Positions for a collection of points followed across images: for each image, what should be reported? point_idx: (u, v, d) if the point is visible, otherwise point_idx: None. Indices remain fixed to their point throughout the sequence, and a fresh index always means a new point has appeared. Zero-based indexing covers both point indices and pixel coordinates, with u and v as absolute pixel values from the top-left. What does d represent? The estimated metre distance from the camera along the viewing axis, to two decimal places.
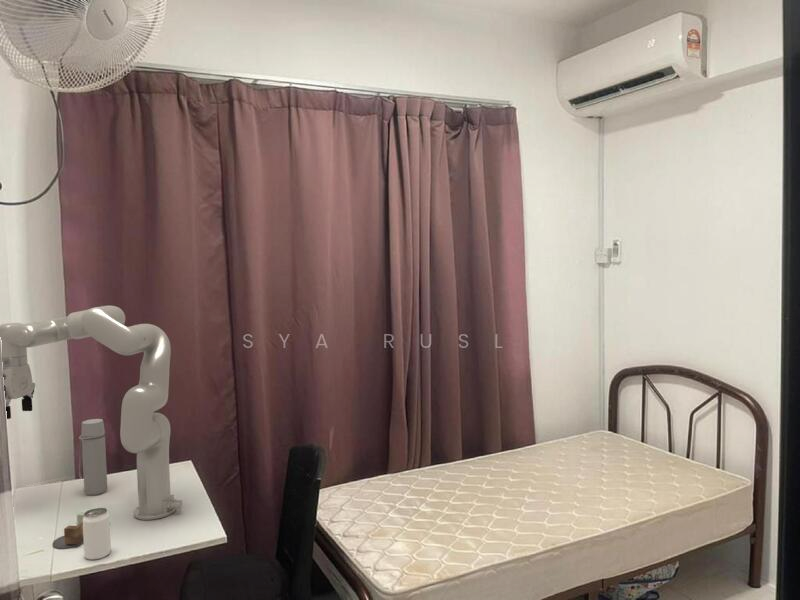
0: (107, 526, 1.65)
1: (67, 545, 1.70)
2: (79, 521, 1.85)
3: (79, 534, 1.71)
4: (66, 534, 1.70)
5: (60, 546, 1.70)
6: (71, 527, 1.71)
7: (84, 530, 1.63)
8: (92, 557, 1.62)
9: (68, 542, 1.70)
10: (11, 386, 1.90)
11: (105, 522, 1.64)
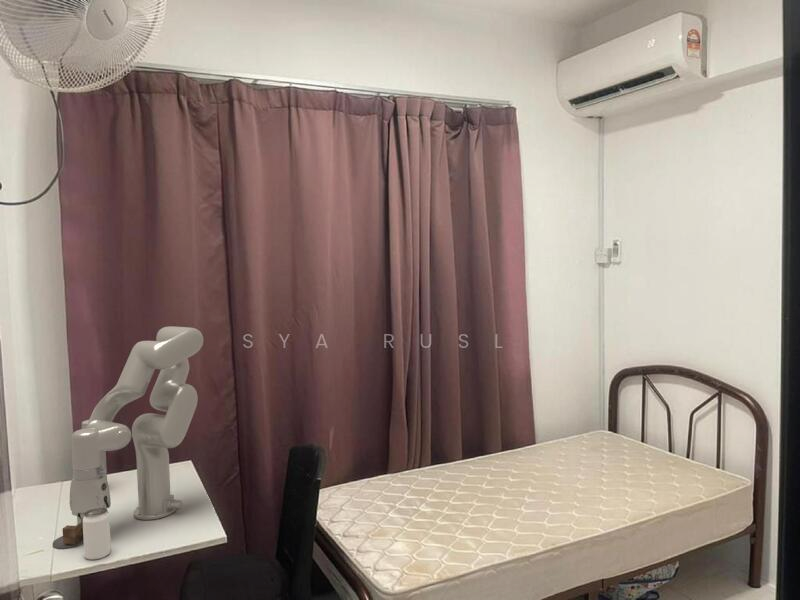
0: (107, 526, 1.65)
1: (67, 545, 1.70)
2: (79, 521, 1.85)
3: (77, 534, 1.71)
4: (64, 534, 1.70)
5: (60, 546, 1.70)
6: (70, 526, 1.71)
7: (84, 530, 1.63)
8: (92, 557, 1.62)
9: (66, 542, 1.70)
10: None
11: (105, 522, 1.64)
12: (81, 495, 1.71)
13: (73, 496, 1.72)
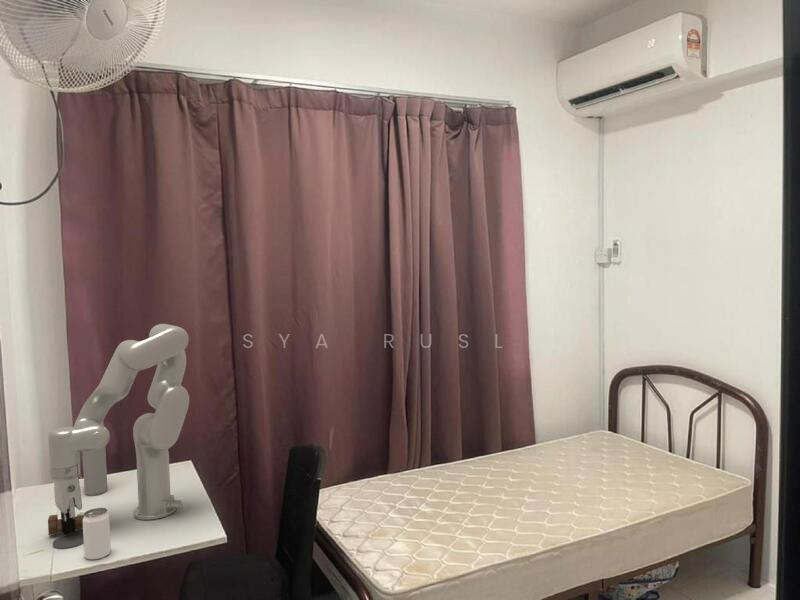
0: (107, 526, 1.65)
1: (67, 545, 1.70)
2: None
3: (53, 526, 1.76)
4: None
5: (60, 546, 1.70)
6: (53, 516, 1.78)
7: (84, 530, 1.63)
8: (92, 557, 1.62)
9: None
10: (80, 496, 1.74)
11: (105, 522, 1.64)
12: (56, 491, 1.74)
13: (54, 491, 1.76)
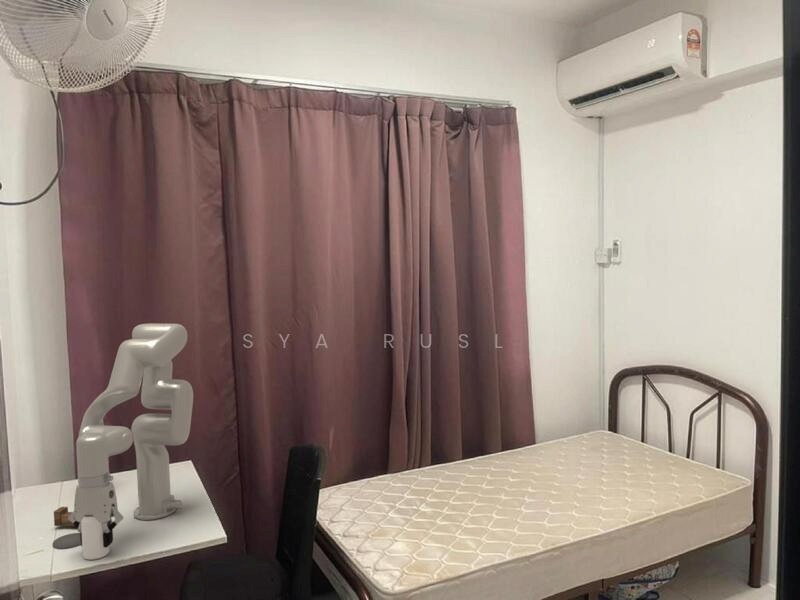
0: None
1: (67, 545, 1.70)
2: None
3: (58, 518, 1.82)
4: None
5: (60, 546, 1.70)
6: (61, 508, 1.84)
7: (82, 530, 1.63)
8: (90, 557, 1.62)
9: None
10: None
11: None
12: (88, 503, 1.62)
13: (78, 505, 1.63)
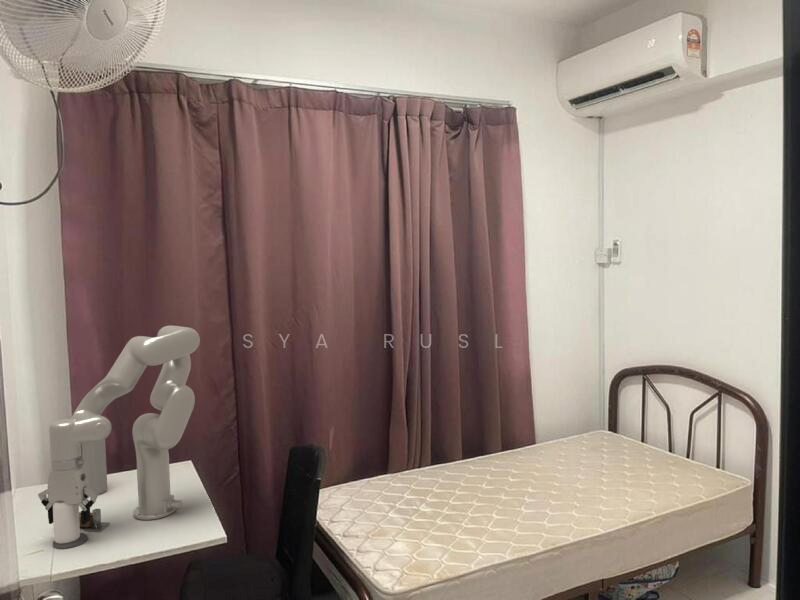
0: (76, 512, 1.73)
1: (67, 545, 1.70)
2: None
3: None
4: None
5: (60, 546, 1.70)
6: None
7: (54, 515, 1.71)
8: (61, 541, 1.71)
9: None
10: None
11: (74, 508, 1.72)
12: (60, 486, 1.70)
13: (51, 487, 1.71)
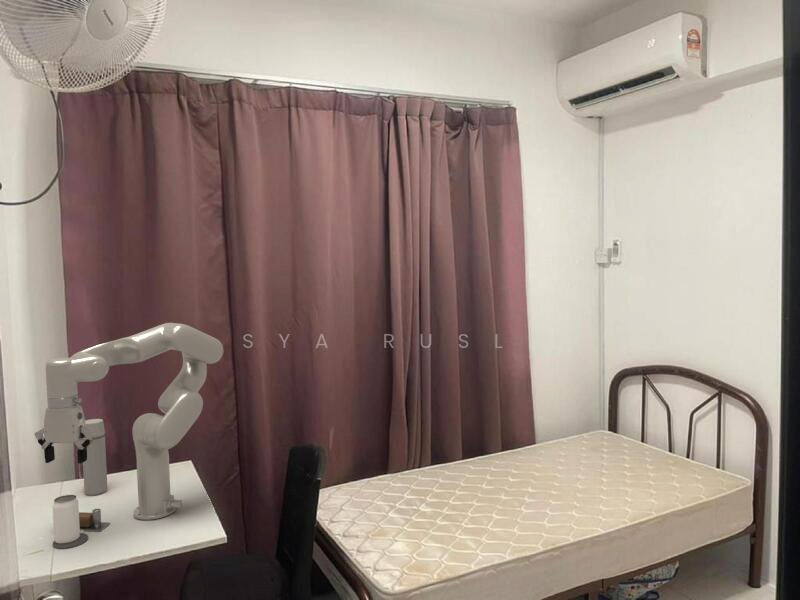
0: (76, 512, 1.73)
1: (67, 545, 1.70)
2: None
3: None
4: None
5: (60, 546, 1.70)
6: None
7: (54, 515, 1.71)
8: (61, 541, 1.71)
9: None
10: None
11: (74, 508, 1.72)
12: (57, 424, 1.69)
13: (48, 426, 1.69)
